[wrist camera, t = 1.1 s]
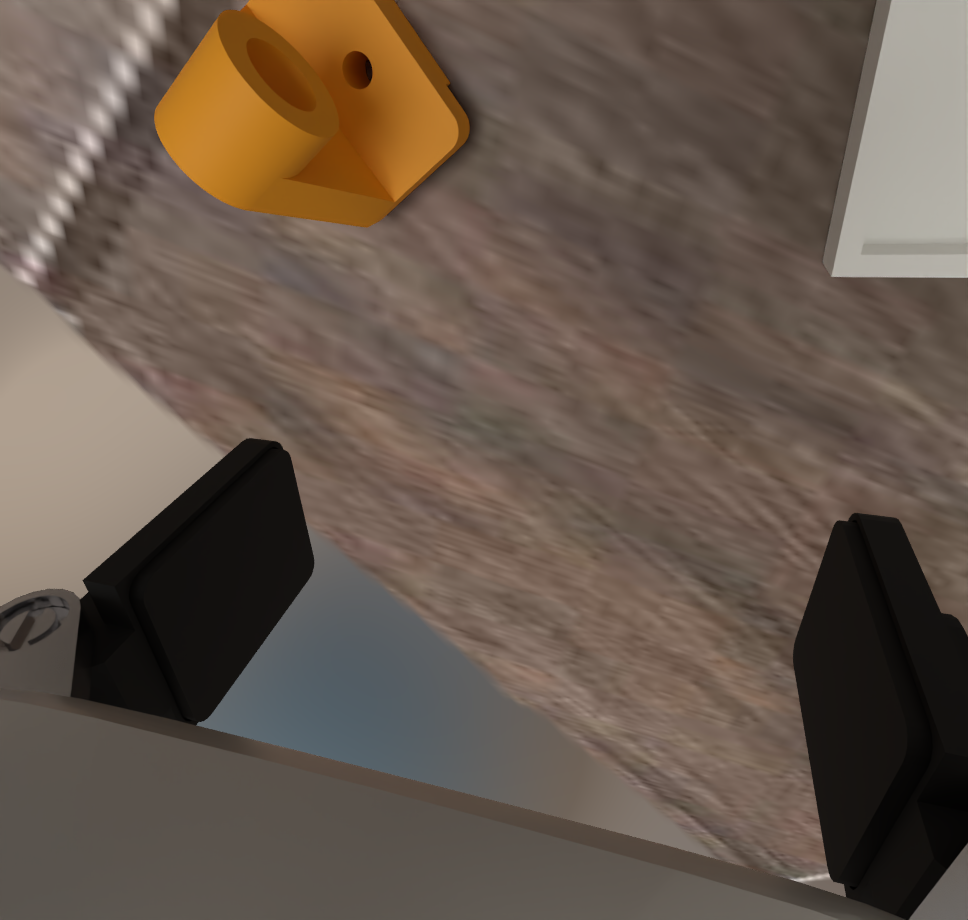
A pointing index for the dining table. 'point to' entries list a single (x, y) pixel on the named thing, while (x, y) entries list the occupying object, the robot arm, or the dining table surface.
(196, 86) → the bracket
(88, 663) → the robot arm
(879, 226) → the tray
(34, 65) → the dining table surface
